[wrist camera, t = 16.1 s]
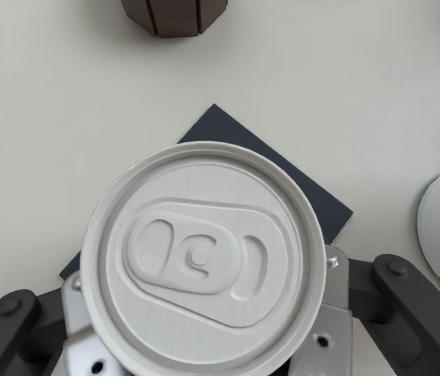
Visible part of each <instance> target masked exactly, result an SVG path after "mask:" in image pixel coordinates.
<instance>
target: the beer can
mask: <svg viewBox="0 0 440 376" xmlns="http://www.w3.org/2000/svg"><path fill="white" fill-rule="evenodd" d="M325 280H326V253H325V245H324V240H323V236H322V232H321V228H320V225H319V223H318V220H317V217H316V215H315V213H314V211H313V209H312V207H311V205H310V203H309V201H308V200H307V198H306V196H305V195H304V193H303V192H302V190H301V189H300V188H299V187H298V185H297V184H296V183H295V182H294V181H293V180H292V179H291V178H290V177H289V176H288V175H287V174H286V173H285V172H284V171H283V170H282V169H281V168H279V167H278V166H277V165H276V164H274V163H273V162H271V161H270V160H268V159H267V158H265V157H263V156H262V155H259V154H257V153H255V152H253V151H251V150H249V149H246V148H243V147H240V146H237V145H233V144H228V143H223V142H215V141H195V142H185V143H181V144H176V145H172V146H169V147H166V148H163V149H160V150H158V151H156V152H154V153H151V154H149V155H147V156H146V157H144V158H142V159H141V160H139V161H137V162H136V163H134V164H133V165H132V166H130V167H129V168H128V169H127V170H125V171H124V172H123V173H122V174H121V175H120V176H119V177H118V178H117V179H116V180H115V181H114V182H113V183H112V184H111V186H110V187H109V188H108V189H107V190H106V192H105V193H104V195H103V196H102V198H101V199H100V201H99V202H98V204H97V206H96V208H95V209H94V211H93V213H92V215H91V218H90V220H89V223H88V225H87V228H86V231H85V235H84V239H83V243H82V249H81V256H80V284H81V291H82V296H83V301H84V305H85V308H86V311H87V314H88V317H89V320H90V322H91V324H92V326H93V328H94V330H95V332H96V334H97V335H98V337H99V339H100V340H101V342H102V343H103V345H104V346H105V347H106V349H107V350H108V351H109V352H110V354H111V355H112V356H113V357H114V358H115V359H116V360H117V361H118V362H119V363H120V364H121V365H122V366H123V367H124V368H126V369H127V370H128V371H130V372H131V373H133V374H134V375H135V376H268V375H270V374H271V373H272V372H274V371H275V370H276V369H278V368H279V367H280V366H281V365H283V364H284V363H285V362H286V361H287V360H288V359H289V358H290V357H291V356H292V355H293V354H294V352H295V351H296V350H297V349H298V347H299V346H300V345H301V344H302V342H303V341H304V339H305V337H306V336H307V334H308V333H309V331H310V329H311V327H312V325H313V323H314V321H315V319H316V317H317V314H318V311H319V308H320V305H321V302H322V298H323V293H324V288H325Z"/></svg>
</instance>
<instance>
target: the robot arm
mask: <svg viewBox="0 0 440 376" xmlns="http://www.w3.org/2000/svg"><path fill="white" fill-rule="evenodd" d="M319 225H320V224H319ZM320 228H321V226H320ZM321 232H322V236H323V240H324V245H325V253H326V280H325V288H324V293H323V298H322V302H321V305H320V308H319V311H318V314H317V317H316V319H315V321H314V323H313V325H312V327H311V329H310V331H309V333H308V334H307V336H306V337H305V339H304V341H303V342H302V344H301V345H300V346H299V347H298V349H297V350H296V351H295V352H294V354H293V355H292V356H291V357H290V358H289V359H288V360H287V361H286V362H285V363H284V364H283V365H281V366H280V367H279V368H278V369H276V370H275V371H274V372H272V373H271V374H270V375H268V376H352V317H355V318H359V320H360V321H361V323H362V324H363V326H364V327H365V329H366V330H367V332H368V333H369V335H370V336H371V338H372V339H373V341H374V342H375V344H376V345H377V347H378V348H379V350H380V351H381V353H382V354H383V356H384V357H385V359H386V360H387V362H388V363H389V365H390V366H391V368H392V369H393V371H394V372H395V374H396V375H397V376H440V291H439V290H438V289H437V288H436V287H435V286H434V285H433V284H432V283H431V282H430V281H429V280H428V279H427V278H426V277H425V276H424V275H423V274H422V273H421V272H420V271H419V270H418V269H417V268H416V267H415V266H414V265H413V264H412V263H410V262H409V261H407V260H406V259H404V258H402V257H400V256H397V255H393V254H382V255H379V256H377V257H376V258H375V260H374V262H373V263H372V262H366V261H359V260H354V259H350V258H348V257H347V256H346V254H345V253H344V252H343V251H341V250H340V249H338V248H337V247H334V246H332V245H331V244H330V242H329V240H328V238H327V237H326V235H325V233H324V231H323V230H322V228H321ZM62 351H63V355H64V364H65V372H66V376H135V375H134V374H133V373H131V372H130V371H128V370H127V369H126V368H124V367H123V366H122V365H121V364H120V363H119V362H118V361H117V360H116V359H115V358H114V357H113V356H112V355H111V354H110V352H109V351H108V350H107V349H106V347H105V346H104V345H103V343H102V342H101V340H100V339H99V337H98V335H97V334H96V332H95V330H94V328H93V326H92V324H91V322H90V320H89V317H88V314H87V311H86V308H85V305H84V301H83V296H82V291H81V284H80V270H78V271H76V272H74V273H73V274H71V275H70V276H69V277H68V278H67V279H66V280H65V281H64V283H63V285H62V287H61V288H59V289H56V290H53V291H51V292H48V293H45V294H42V295H39V296H37V297H36V296H35V294H34V293H33V292H32V291H31V290H27V289H22V290H17V291H14V292H11V293H9V294H7V295H5V296H4V297H2V298H1V299H0V376H51V374H52V372H53V370H54V368H55V366H56V364H57V362H58V360H59V358H60V356H61V353H62Z"/></svg>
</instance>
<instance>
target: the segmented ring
mask: <svg viewBox="0 0 440 376" xmlns="http://www.w3.org/2000/svg"><path fill="white" fill-rule="evenodd" d="M121 2H122V5H123V7H124V10H125V11H126V14H127V15H128V16H129V17H130V18H131V19H133V20H134V21H135V22H137V23H138V24H139V25H141V26H142V27H143V28H144V29H146V30H147V31H148V32H150V33H151V34H152V35H153V36H156V35H157V34H159V37H160V38H169V37H184V36H198V31H199V32H201V33H203V32H204V31H205V30H206V29H207V28H208V27H209V26H210V25H211V24H212V23H213V22H214V21H215V20H216V19H217V18H218V17H219V16H220V15H221V14H222V13H223V12H224V10H225V9H226V5H227V4H228V0H121Z"/></svg>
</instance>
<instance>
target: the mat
mask: <svg viewBox="0 0 440 376" xmlns="http://www.w3.org/2000/svg"><path fill="white" fill-rule="evenodd" d="M195 141H215V142H223V143H228V144H233V145H237V146H240V147H243V148H246V149H249V150H251V151H253V152H255V153H257V154H259V155H262V156H263V157H265V158H267V159H268V160H270V161H271V162H273V163H274V164H276V165H277V166H278V167H279V168H281V169H282V170H283V171H284V172H285V173H286V174H287V175H288V176H289V177H290V178H291V179H292V180H293V181H294V182H295V183H296V184H297V185H298V187H299V188H300V189H301V190H302V192H303V193H304V195H305V196H306V198H307V200H308V201H309V203H310V205H311V207H312V209H313V211H314V213H315V215H316V217H317V220H318V223H319V224H320V226H321V228H322V230H323V231H324V233H325V235H326V237H327V238H328V240H329V242H330V244H331V242H332V241H333V240H334V238H335V237H336V236H337V234H338V233H339V232H340V230H341V229H342V227H343V226H344V225H345V223H346V222H347V221H348V219H349V218H350V217H351V215H352V214H353V212H352V211H351V210H350V209H349V208H347V207H346V206H345V205H344V204H342V203H341V202H340V201H338V200H337V199H336V198H335V197H333V196H332V195H331V194H329V193H328V192H327V191H326V190H324V189H323V188H322V187H320V186H319V185H318V184H317V183H315V182H314V181H313V180H312V179H310V178H309V177H308V176H306V175H305V174H304V173H303V172H301V171H300V170H299V169H297V168H296V167H295V166H294V165H292V164H291V163H290V162H289V161H287V160H286V159H285V158H283V157H282V156H281V155H280V154H278V153H277V152H276V151H274V150H273V149H272V148H271V147H269V146H268V145H267V144H265V143H264V142H263V141H262V140H260V139H259V138H258V137H257V136H255V135H254V134H253V133H251V132H250V131H249V130H248V129H246V128H245V127H244V126H242V125H241V124H240V123H239V122H237V121H236V120H235V119H233V118H232V117H231V116H230V115H228V114H227V113H226V112H225V111H223V110H222V109H221V108H219V107H218V106H217V105H216V104H213V105H212V106H211V107H210V108H209V109H208V111H207V112H206V113H205V114H204V115H203V116H202V117H201V118H200V119H199V120H198V122H197V123H196V124H195V125H194V126H193V127H192V128H191V129H190V130H189V132H188V133H187V134H186V135H185V136H184V137H183V138H182V139H181V140H180V141H179V143H178V144H181V143H185V142H195ZM80 256H81V251H80V252H79V253H78V254H77V255H76V256H75V257H74V259H73V260H72V261H71V262H70V263H69V264H68V265H67V266H66V267H65V269H64V270H63V271H62V272H61V273H60V274H59V275H60V276H61V277H62V278H63V279H64V280H66V279H67V278H68V277H69V276H70V275H71V274H73V273H74V272H76V271H78V270H80Z"/></svg>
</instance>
